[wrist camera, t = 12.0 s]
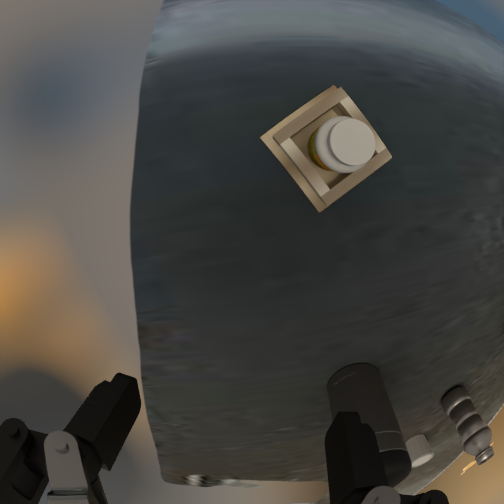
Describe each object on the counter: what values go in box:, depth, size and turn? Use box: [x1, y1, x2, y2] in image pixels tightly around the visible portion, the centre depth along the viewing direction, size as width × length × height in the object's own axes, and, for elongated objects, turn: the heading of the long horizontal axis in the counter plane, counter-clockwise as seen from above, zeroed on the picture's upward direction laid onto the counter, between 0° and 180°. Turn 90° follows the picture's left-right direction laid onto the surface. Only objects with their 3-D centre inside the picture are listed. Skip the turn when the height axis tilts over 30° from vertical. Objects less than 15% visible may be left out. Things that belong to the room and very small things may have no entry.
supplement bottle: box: [308, 116, 376, 173], centre depth 24 cm, size 5×5×10 cm
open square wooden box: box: [260, 85, 392, 213], centre depth 27 cm, size 11×11×5 cm
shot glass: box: [405, 434, 434, 468], centre depth 43 cm, size 7×7×7 cm
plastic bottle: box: [442, 387, 494, 465], centre depth 32 cm, size 6×7×20 cm
